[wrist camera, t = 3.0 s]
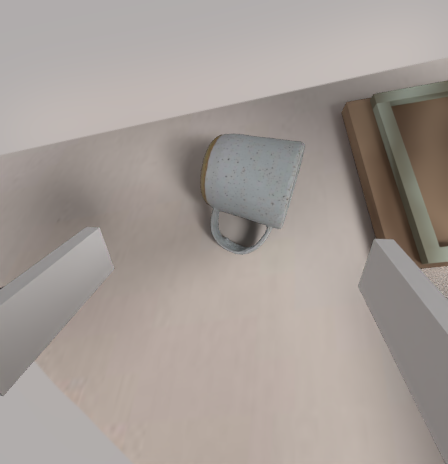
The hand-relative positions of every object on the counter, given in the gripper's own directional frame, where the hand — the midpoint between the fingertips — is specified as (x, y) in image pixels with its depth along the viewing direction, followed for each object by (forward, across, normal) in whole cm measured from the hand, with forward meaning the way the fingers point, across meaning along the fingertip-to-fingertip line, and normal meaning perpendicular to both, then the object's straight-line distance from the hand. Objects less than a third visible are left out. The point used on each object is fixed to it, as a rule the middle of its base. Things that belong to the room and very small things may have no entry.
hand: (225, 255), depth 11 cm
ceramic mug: (+14, +1, -4) cm, 14 cm away
